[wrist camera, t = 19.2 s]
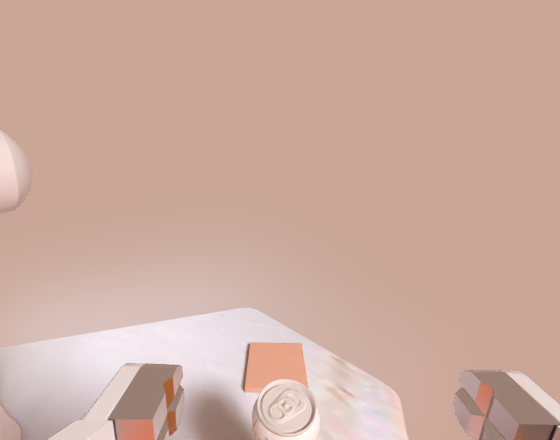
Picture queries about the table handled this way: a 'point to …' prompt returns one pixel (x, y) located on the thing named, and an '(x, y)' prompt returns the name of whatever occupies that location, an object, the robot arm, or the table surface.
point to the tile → (274, 364)
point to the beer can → (285, 412)
